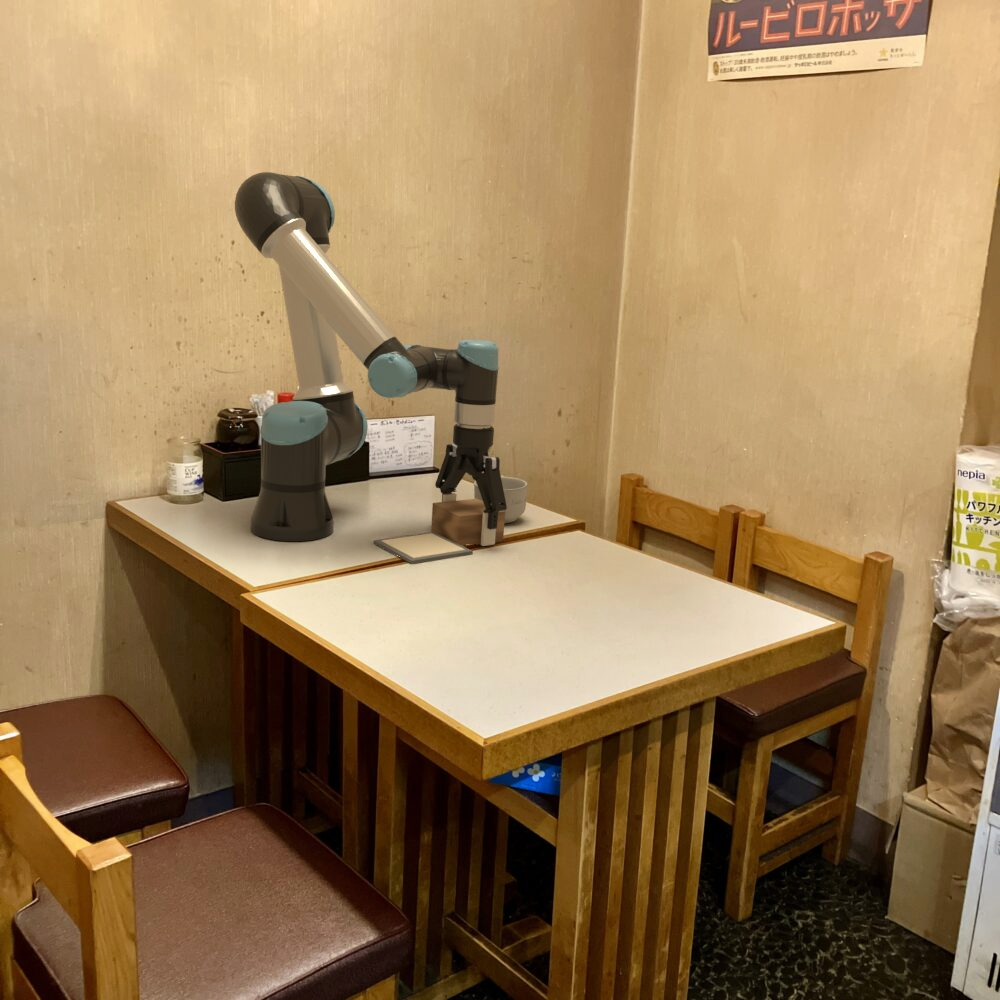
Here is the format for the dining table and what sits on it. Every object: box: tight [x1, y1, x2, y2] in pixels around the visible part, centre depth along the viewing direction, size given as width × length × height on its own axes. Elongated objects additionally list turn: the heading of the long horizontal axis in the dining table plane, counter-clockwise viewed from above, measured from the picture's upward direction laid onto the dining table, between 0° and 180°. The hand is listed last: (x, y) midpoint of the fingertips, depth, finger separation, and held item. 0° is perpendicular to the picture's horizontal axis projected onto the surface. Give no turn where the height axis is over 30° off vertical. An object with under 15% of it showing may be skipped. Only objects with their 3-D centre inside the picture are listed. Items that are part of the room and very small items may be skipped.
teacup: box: [473, 474, 528, 524], centre depth 204 cm, size 14×11×8 cm
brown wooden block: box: [430, 498, 505, 545], centre depth 190 cm, size 10×10×6 cm
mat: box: [372, 531, 474, 565], centre depth 181 cm, size 13×13×1 cm
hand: (467, 535), depth 190 cm, fingers open, 12 cm apart
